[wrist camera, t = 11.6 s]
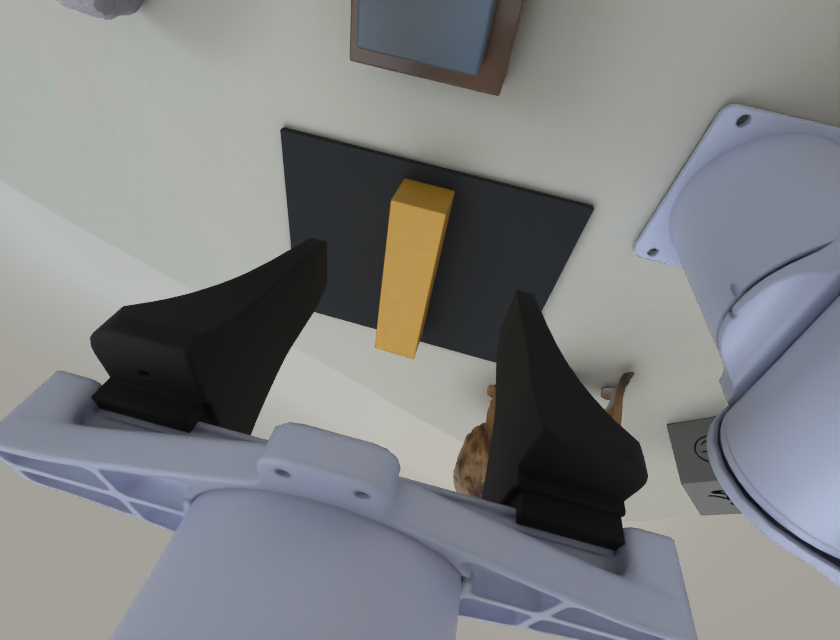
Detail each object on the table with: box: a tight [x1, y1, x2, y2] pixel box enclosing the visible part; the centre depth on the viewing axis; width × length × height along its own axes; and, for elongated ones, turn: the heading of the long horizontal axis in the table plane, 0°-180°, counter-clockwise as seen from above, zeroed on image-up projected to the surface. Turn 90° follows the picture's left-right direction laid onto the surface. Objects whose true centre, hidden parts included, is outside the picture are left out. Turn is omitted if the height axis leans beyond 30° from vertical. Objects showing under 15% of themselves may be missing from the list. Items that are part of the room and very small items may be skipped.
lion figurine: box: [453, 372, 634, 499], centre depth 30 cm, size 15×5×9 cm, turn 132°
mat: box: [280, 128, 594, 363], centre depth 27 cm, size 18×14×1 cm
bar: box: [375, 178, 455, 359], centre depth 26 cm, size 12×3×3 cm, turn 171°
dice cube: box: [667, 417, 742, 515], centre depth 30 cm, size 5×5×5 cm
